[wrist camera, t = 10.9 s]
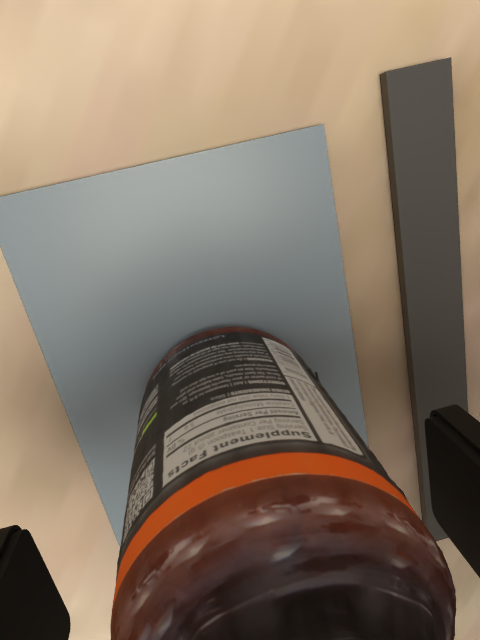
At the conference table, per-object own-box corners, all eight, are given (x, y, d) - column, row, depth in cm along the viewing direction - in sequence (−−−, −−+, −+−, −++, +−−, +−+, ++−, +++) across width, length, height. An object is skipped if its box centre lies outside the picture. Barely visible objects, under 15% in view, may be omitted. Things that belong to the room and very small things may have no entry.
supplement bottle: (308, 466, 17) (544, 973, 6) (147, 481, 16) (95, 1095, 5) (316, 314, 15) (675, 661, 4) (135, 323, 14) (17, 775, 3)
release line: (443, 60, 13) (450, 57, 13) (467, 523, 19) (473, 530, 19) (380, 74, 13) (385, 71, 13) (424, 536, 19) (429, 543, 19)
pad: (320, 125, 13) (323, 123, 13) (377, 531, 19) (380, 536, 18) (-14, 200, 13) (-18, 200, 12) (143, 599, 18) (143, 605, 18)
